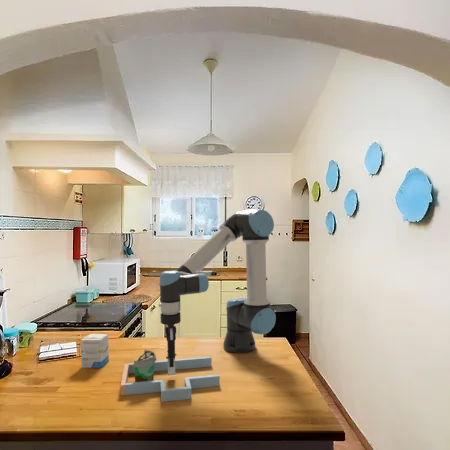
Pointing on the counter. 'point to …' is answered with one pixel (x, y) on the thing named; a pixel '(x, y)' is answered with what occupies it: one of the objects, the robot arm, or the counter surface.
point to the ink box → (94, 351)
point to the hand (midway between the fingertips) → (171, 374)
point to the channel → (159, 385)
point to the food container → (145, 367)
